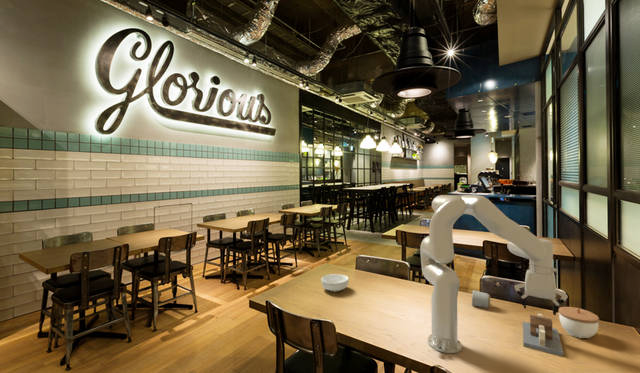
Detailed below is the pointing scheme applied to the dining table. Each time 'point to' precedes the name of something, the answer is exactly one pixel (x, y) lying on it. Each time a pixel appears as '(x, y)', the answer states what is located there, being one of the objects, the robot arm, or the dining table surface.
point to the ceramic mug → (480, 299)
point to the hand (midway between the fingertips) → (539, 310)
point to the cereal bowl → (334, 282)
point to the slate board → (533, 342)
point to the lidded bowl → (578, 322)
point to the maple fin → (541, 333)
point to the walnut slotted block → (545, 322)
